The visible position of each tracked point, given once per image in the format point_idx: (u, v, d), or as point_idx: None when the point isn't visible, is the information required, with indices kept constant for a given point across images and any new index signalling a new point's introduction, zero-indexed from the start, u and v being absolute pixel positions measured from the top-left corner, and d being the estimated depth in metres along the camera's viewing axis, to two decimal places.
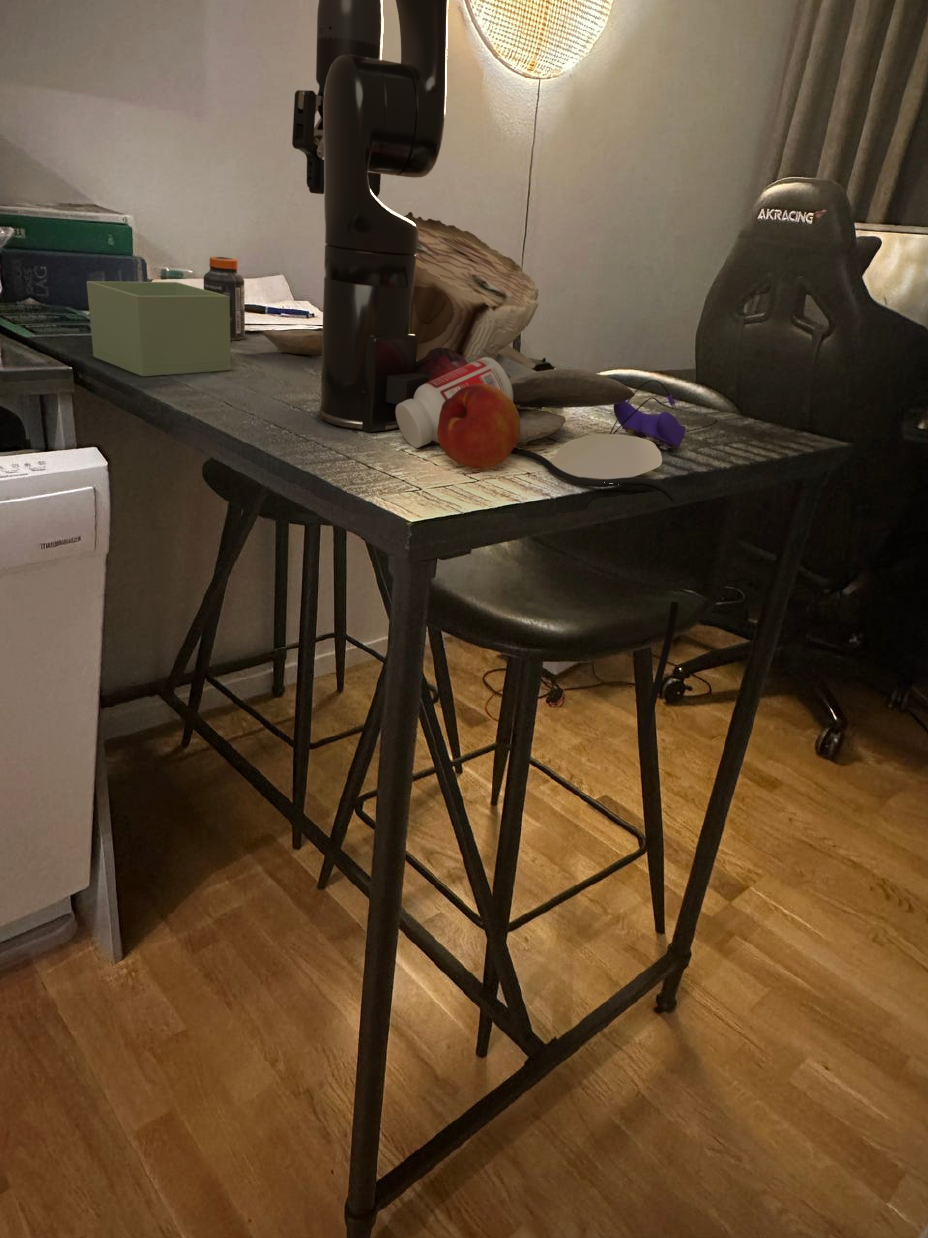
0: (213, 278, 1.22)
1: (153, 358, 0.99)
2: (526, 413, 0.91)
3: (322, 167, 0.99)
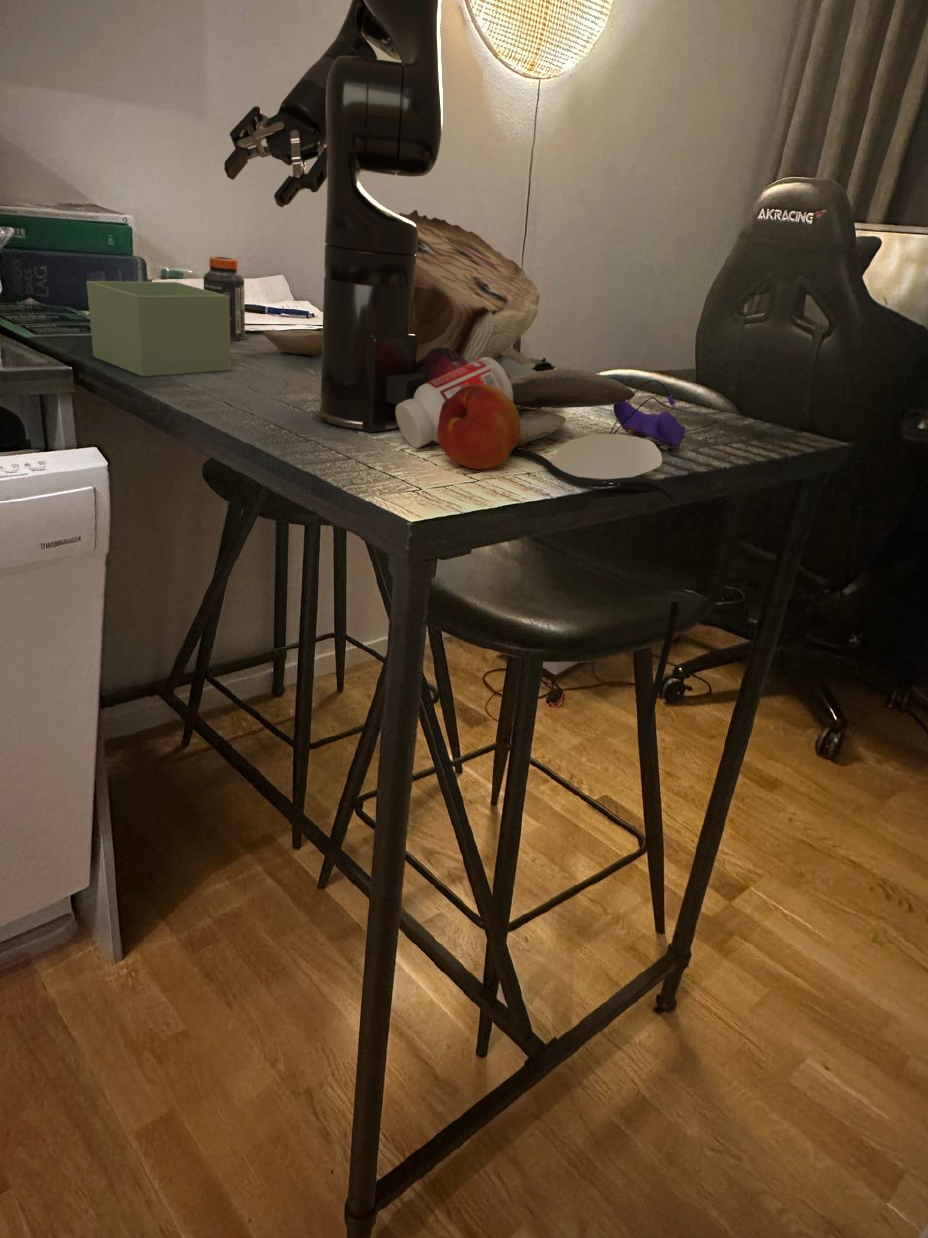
0: (213, 278, 1.22)
1: (153, 358, 0.99)
2: (526, 413, 0.91)
3: (236, 152, 1.14)
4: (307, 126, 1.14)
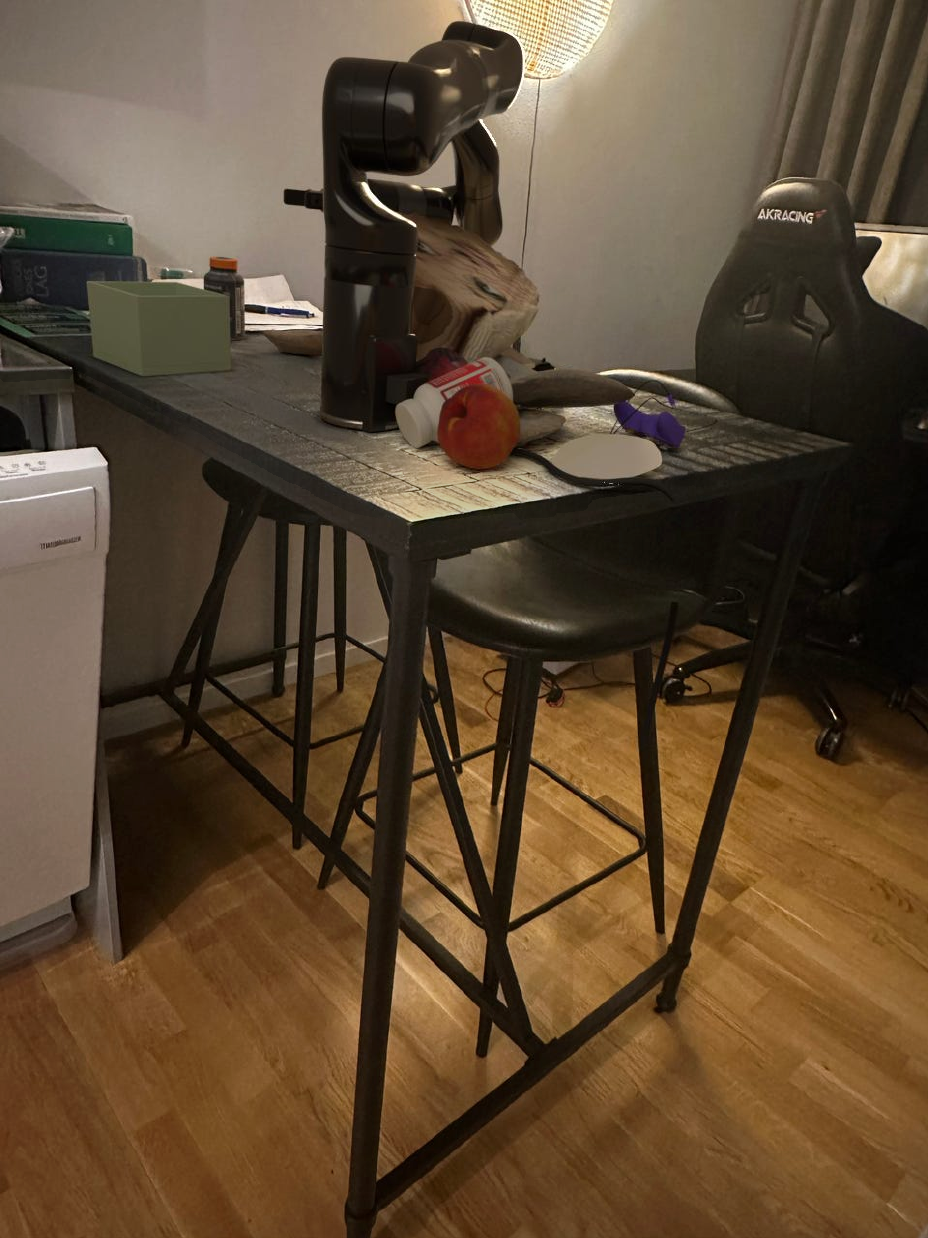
0: (213, 278, 1.22)
1: (153, 358, 0.99)
2: (526, 413, 0.91)
3: None
4: None
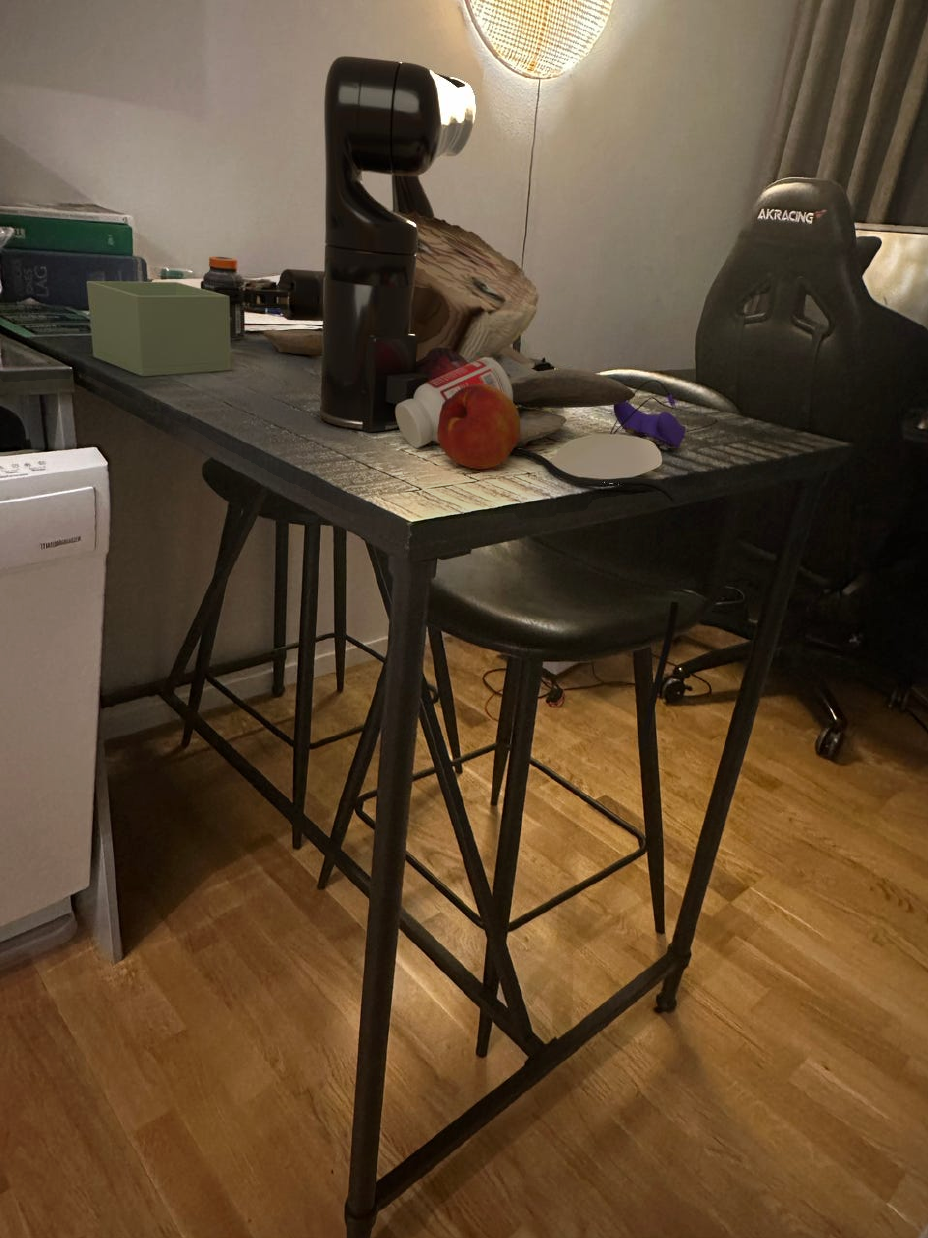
0: (213, 278, 1.22)
1: (153, 358, 0.99)
2: (526, 413, 0.91)
3: None
4: (287, 287, 1.28)
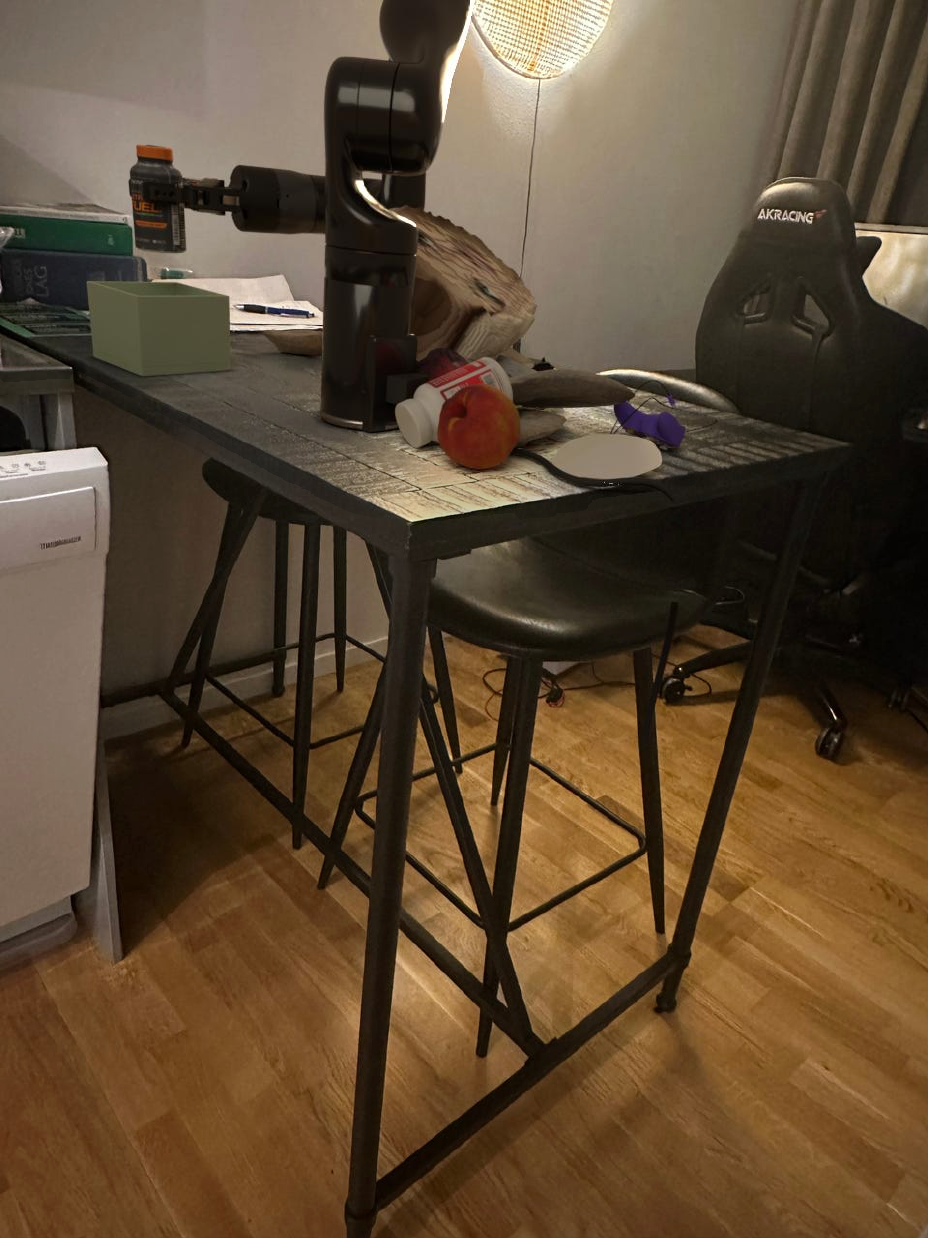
0: (141, 171, 0.96)
1: (153, 358, 0.99)
2: (526, 413, 0.91)
3: None
4: (238, 187, 1.02)
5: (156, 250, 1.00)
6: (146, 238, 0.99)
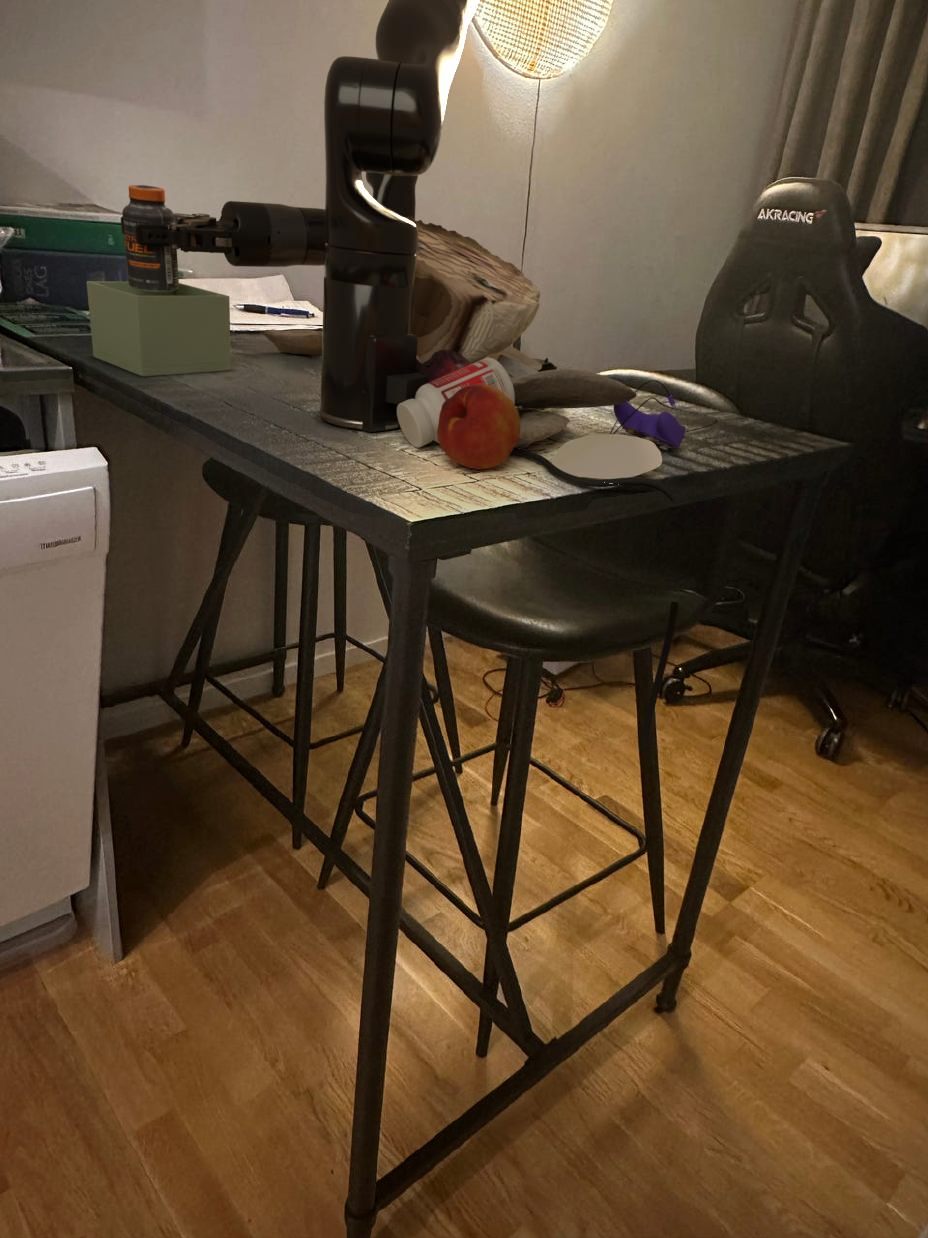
0: (134, 213, 0.97)
1: (153, 358, 0.99)
2: (529, 414, 0.91)
3: None
4: (230, 224, 1.03)
5: (150, 290, 1.01)
6: (139, 278, 1.00)
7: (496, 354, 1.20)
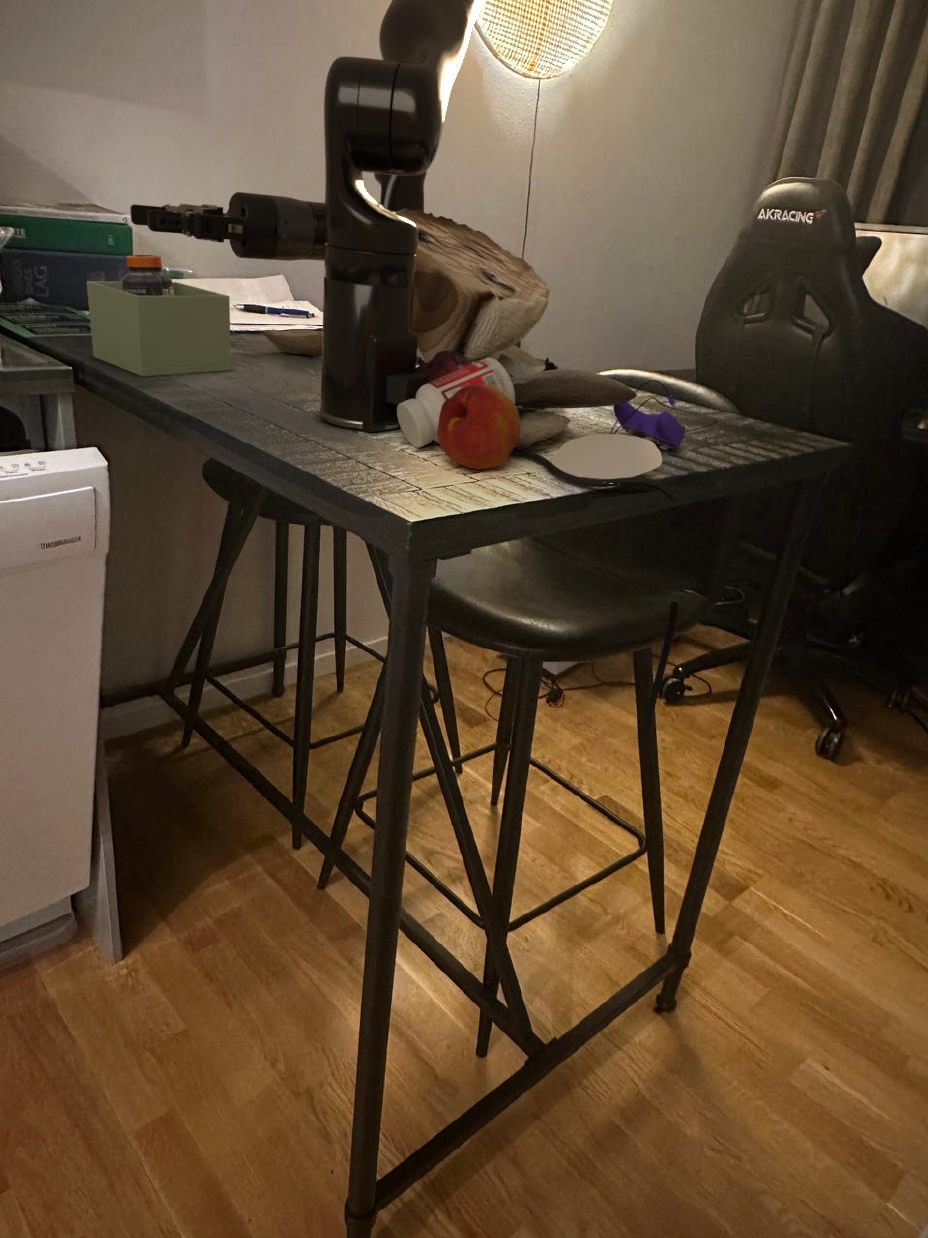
0: (134, 280, 1.01)
1: (153, 358, 0.99)
2: (529, 414, 0.91)
3: (154, 206, 1.02)
4: (237, 214, 1.02)
5: None
6: None
7: (500, 354, 1.19)
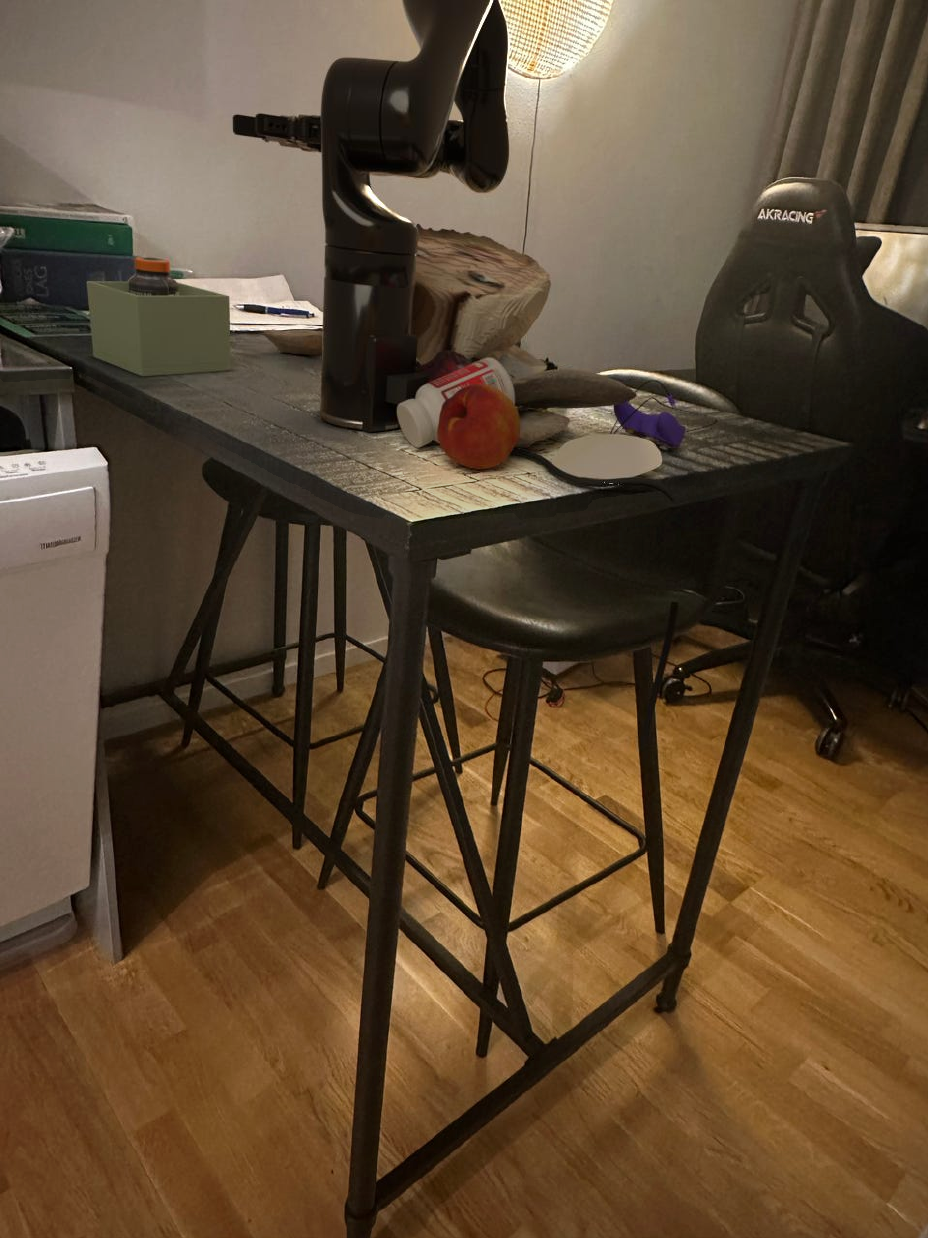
0: (141, 284, 1.01)
1: (153, 358, 0.99)
2: (529, 414, 0.91)
3: (255, 116, 1.04)
4: None
5: None
6: None
7: (501, 354, 1.20)
